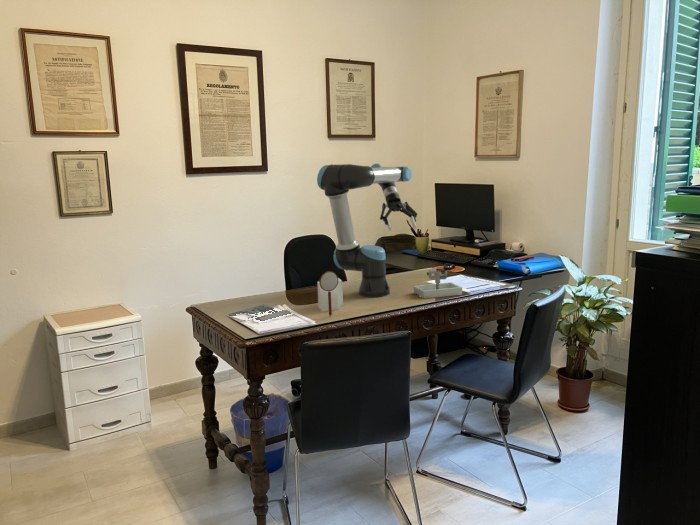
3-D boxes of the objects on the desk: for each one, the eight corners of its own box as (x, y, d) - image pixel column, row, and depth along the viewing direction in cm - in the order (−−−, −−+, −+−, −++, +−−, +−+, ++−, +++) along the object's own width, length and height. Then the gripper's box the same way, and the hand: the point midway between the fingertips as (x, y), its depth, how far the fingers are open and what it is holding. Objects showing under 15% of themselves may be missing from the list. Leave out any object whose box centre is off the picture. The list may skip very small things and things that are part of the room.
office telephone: (294, 310, 243) (256, 321, 229) (294, 316, 243) (257, 327, 230) (263, 301, 259) (225, 310, 246) (263, 306, 260) (226, 316, 246)
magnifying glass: (338, 314, 240) (336, 269, 237) (340, 315, 239) (338, 270, 235) (320, 318, 237) (318, 272, 233) (322, 319, 235) (319, 272, 231)
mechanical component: (448, 292, 268) (448, 271, 267) (427, 292, 268) (427, 272, 267) (447, 290, 271) (447, 270, 269) (426, 291, 271) (426, 271, 270)
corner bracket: (339, 303, 260) (338, 278, 257) (345, 309, 249) (344, 283, 247) (317, 305, 257) (315, 280, 255) (322, 311, 246) (321, 285, 244)
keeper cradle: (423, 298, 262) (423, 291, 261) (413, 293, 273) (413, 286, 272) (462, 294, 267) (462, 287, 266) (451, 289, 278) (451, 282, 278)
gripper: (412, 200, 303) (423, 230, 292) (368, 202, 297) (378, 234, 285) (415, 191, 297) (427, 221, 286) (371, 193, 291) (381, 225, 279)
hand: (402, 228), depth 286 cm, fingers open, 13 cm apart
